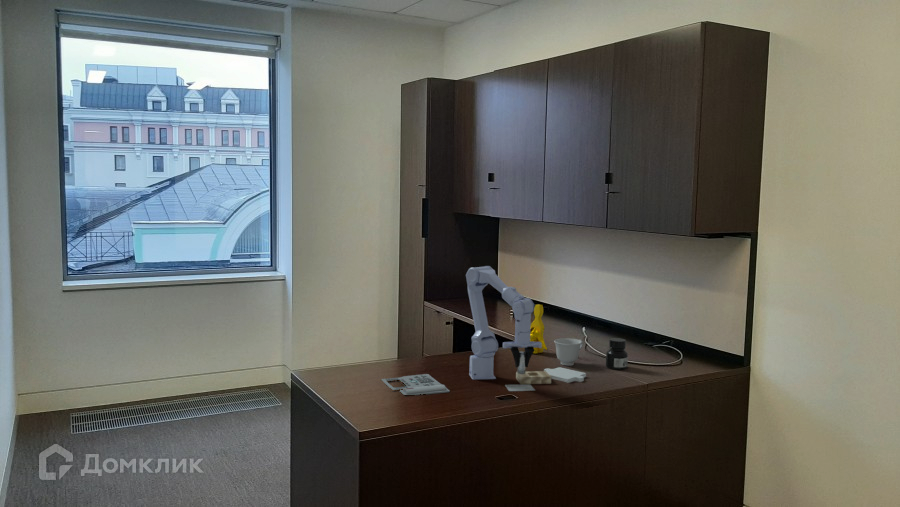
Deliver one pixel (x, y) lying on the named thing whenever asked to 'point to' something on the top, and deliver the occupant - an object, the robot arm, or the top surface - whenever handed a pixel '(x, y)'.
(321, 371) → the top surface
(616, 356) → the ink bottle
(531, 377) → the hole block
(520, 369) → the peg
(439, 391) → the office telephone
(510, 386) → the mat
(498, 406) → the top surface
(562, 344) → the teacup
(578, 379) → the mounting plate
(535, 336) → the figure statuette
